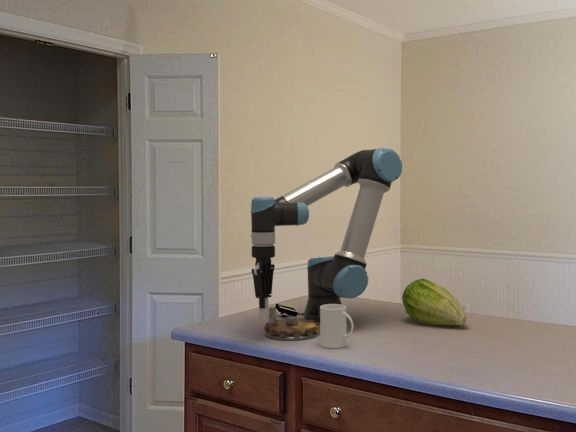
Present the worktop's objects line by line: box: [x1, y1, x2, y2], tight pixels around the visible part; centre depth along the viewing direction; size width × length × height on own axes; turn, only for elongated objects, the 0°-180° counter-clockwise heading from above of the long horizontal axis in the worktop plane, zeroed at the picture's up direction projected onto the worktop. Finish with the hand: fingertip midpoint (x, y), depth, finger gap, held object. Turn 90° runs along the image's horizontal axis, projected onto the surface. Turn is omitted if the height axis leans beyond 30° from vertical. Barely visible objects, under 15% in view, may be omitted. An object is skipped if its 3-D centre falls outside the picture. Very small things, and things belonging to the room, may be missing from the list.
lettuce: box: [401, 278, 468, 326], centre depth 206 cm, size 15×25×16 cm
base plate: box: [264, 329, 320, 342], centre depth 197 cm, size 19×19×1 cm
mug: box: [319, 304, 354, 349], centre depth 181 cm, size 12×8×12 cm
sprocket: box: [264, 306, 320, 337], centre depth 197 cm, size 18×18×8 cm
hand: (263, 317), depth 190 cm, fingers closed
